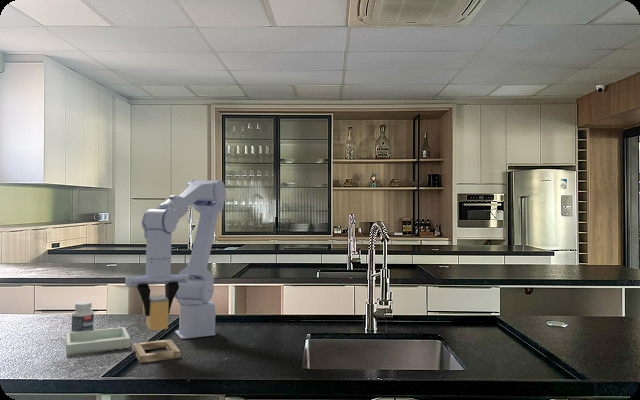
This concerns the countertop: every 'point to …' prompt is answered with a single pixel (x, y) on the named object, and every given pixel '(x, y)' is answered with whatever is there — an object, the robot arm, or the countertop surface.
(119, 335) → the tray
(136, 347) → the socket block
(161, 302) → the tan boxy piece
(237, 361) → the countertop surface
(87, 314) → the pill bottle
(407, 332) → the countertop surface
